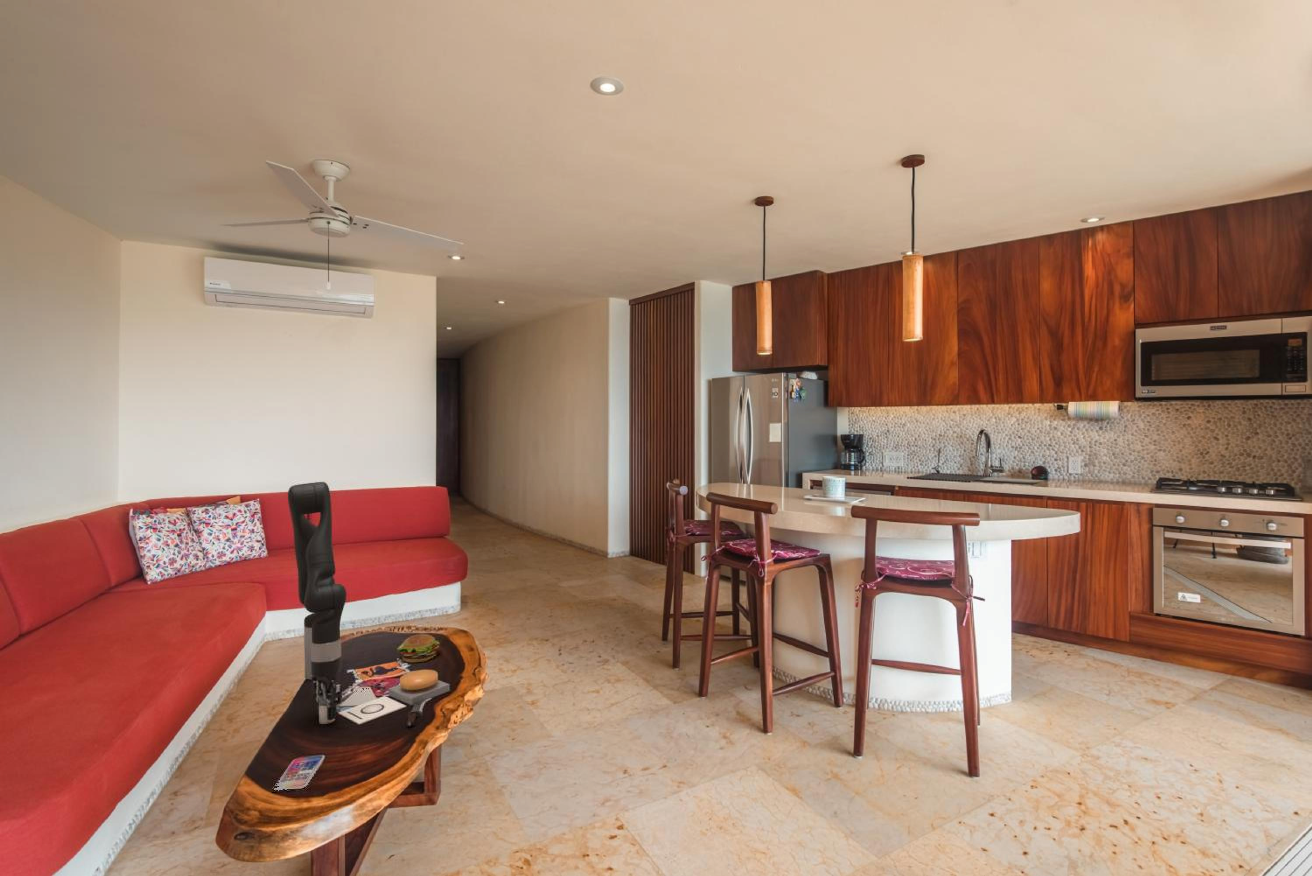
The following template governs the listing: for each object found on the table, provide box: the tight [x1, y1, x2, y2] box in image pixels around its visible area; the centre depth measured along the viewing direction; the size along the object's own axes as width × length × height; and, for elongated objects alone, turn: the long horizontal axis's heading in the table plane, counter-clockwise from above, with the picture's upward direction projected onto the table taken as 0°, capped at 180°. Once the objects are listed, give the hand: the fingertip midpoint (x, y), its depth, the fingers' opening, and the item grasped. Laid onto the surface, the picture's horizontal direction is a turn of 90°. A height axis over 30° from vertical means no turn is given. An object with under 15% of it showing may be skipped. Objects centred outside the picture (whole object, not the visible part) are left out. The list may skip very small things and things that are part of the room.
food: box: [397, 633, 441, 663], centre depth 224 cm, size 14×14×8 cm
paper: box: [337, 695, 407, 725], centre depth 180 cm, size 12×14×1 cm
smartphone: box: [273, 754, 326, 791], centre depth 145 cm, size 7×1×15 cm
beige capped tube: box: [318, 693, 336, 725], centre depth 173 cm, size 4×4×7 cm
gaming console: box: [336, 681, 391, 713], centre depth 190 cm, size 22×1×10 cm
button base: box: [387, 679, 451, 706], centre depth 192 cm, size 13×13×2 cm
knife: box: [405, 697, 433, 727], centre depth 181 cm, size 26×2×5 cm
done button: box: [399, 669, 439, 690], centre depth 192 cm, size 11×11×2 cm
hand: (327, 716), depth 173 cm, fingers open, 5 cm apart
